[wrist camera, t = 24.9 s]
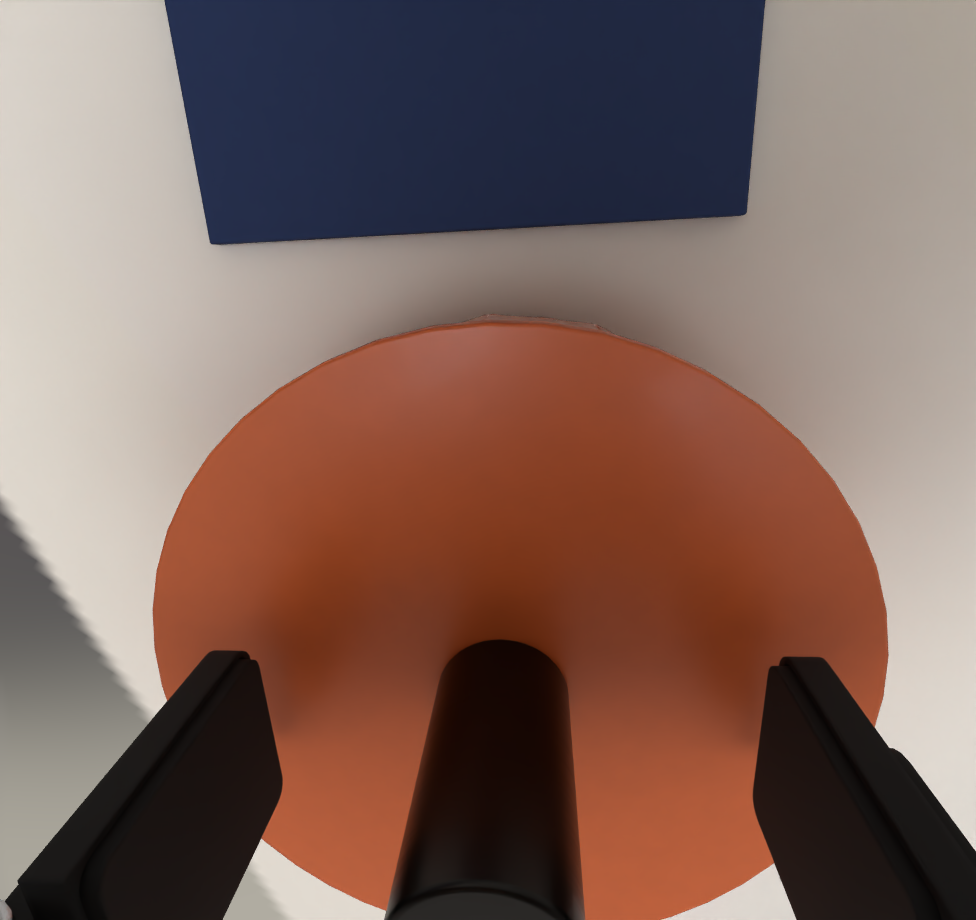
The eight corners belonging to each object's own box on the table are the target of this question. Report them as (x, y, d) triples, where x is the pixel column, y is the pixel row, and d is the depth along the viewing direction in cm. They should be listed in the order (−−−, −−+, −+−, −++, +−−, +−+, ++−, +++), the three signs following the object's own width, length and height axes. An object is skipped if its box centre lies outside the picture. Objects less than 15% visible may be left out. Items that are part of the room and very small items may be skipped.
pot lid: (326, 161, 9) (50, 31, 4) (1020, 541, 10) (1519, 830, 5) (113, 739, 13) (-153, 1042, 8) (617, 962, 15) (663, 1352, 9)
